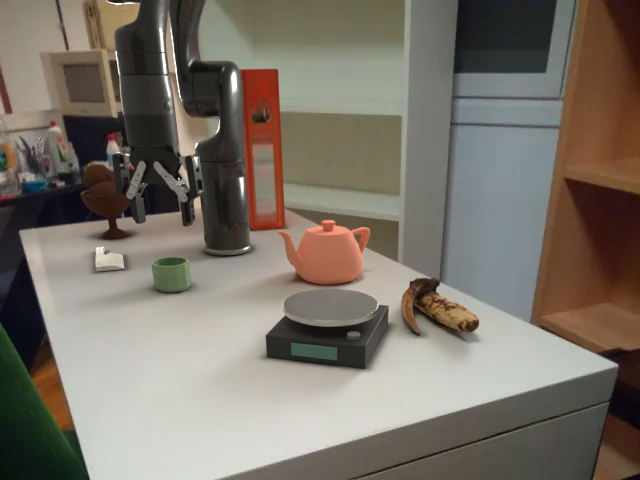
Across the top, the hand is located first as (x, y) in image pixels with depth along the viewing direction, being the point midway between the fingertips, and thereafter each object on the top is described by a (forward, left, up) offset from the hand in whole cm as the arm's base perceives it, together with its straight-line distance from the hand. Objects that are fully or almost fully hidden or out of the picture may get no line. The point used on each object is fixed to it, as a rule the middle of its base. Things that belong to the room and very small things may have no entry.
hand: (164, 224), depth 96 cm
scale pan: (+15, +32, -6) cm, 36 cm away
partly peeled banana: (+4, +44, -11) cm, 46 cm away
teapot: (-13, +23, -11) cm, 29 cm away
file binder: (-52, -5, -11) cm, 54 cm away
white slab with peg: (-12, -21, -11) cm, 26 cm away
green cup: (0, 0, -11) cm, 11 cm away
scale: (+15, +32, -11) cm, 37 cm away
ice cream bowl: (-30, -31, -11) cm, 45 cm away
